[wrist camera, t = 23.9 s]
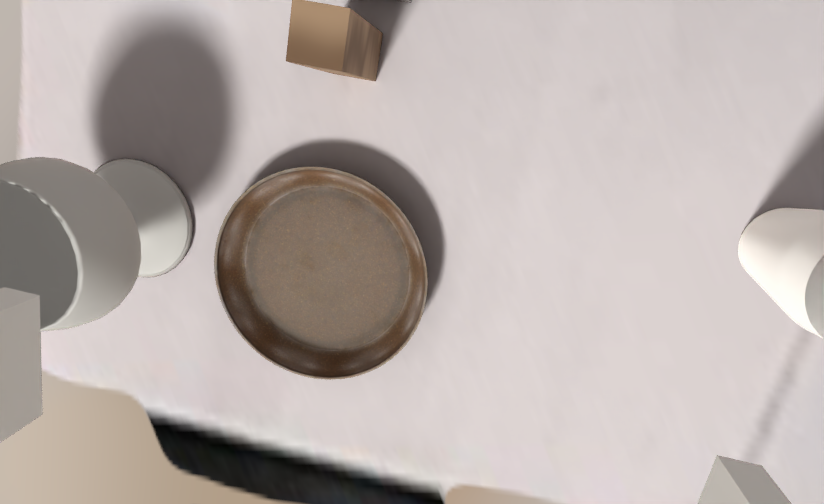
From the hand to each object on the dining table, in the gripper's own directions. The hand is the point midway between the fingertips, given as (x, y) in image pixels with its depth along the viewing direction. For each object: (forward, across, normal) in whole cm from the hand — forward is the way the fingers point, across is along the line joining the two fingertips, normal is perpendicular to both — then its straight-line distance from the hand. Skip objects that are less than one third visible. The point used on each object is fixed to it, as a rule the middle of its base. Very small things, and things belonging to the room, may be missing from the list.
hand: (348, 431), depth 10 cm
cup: (+39, +28, 0) cm, 48 cm away
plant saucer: (+39, -11, -11) cm, 42 cm away
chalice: (+39, -31, -10) cm, 51 cm away
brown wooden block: (+39, -11, +9) cm, 41 cm away
